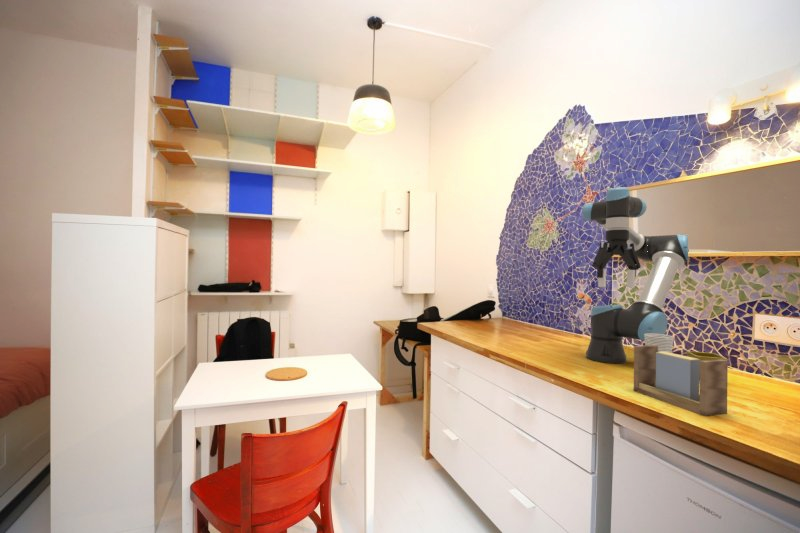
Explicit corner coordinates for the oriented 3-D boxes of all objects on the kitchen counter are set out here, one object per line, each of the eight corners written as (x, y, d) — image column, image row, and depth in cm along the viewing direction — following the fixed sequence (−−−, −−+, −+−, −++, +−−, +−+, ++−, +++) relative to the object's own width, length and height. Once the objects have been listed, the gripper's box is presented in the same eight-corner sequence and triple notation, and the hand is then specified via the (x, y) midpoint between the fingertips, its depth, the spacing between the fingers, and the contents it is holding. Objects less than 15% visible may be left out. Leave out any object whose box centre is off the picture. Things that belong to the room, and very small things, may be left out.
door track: (652, 388, 119) (653, 344, 119) (727, 413, 99) (727, 360, 99) (633, 390, 117) (634, 346, 117) (705, 416, 96) (706, 362, 97)
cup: (638, 376, 133) (638, 332, 133) (662, 376, 133) (662, 333, 133) (653, 383, 125) (654, 337, 125) (679, 384, 124) (679, 337, 124)
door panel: (664, 390, 113) (664, 351, 113) (699, 402, 103) (699, 359, 103) (655, 391, 112) (656, 352, 112) (689, 403, 102) (690, 359, 102)
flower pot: (715, 378, 132) (715, 352, 132) (727, 385, 124) (727, 358, 124) (685, 375, 135) (685, 350, 135) (695, 382, 127) (696, 355, 127)
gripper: (634, 232, 145) (633, 286, 145) (582, 229, 138) (581, 286, 138) (652, 230, 138) (651, 287, 137) (598, 227, 131) (597, 287, 130)
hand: (616, 287), depth 137 cm, fingers open, 13 cm apart
